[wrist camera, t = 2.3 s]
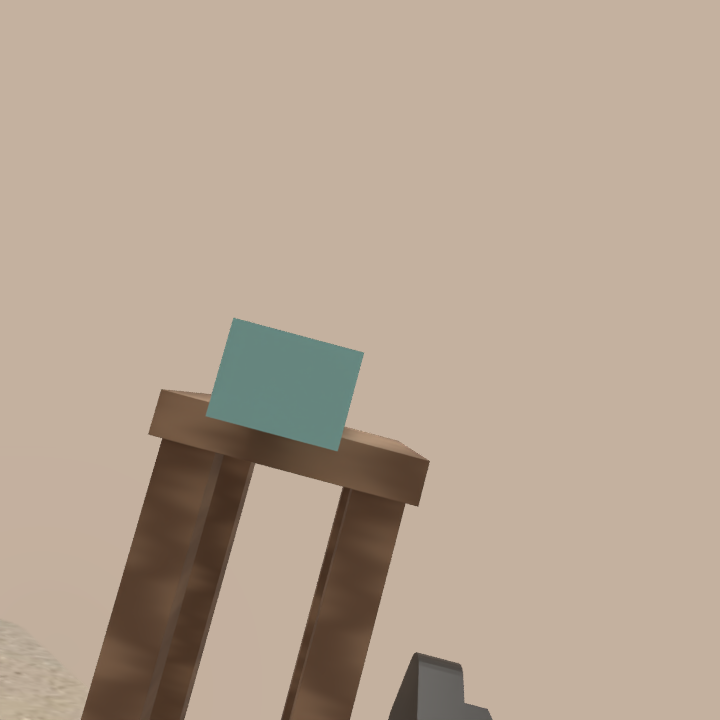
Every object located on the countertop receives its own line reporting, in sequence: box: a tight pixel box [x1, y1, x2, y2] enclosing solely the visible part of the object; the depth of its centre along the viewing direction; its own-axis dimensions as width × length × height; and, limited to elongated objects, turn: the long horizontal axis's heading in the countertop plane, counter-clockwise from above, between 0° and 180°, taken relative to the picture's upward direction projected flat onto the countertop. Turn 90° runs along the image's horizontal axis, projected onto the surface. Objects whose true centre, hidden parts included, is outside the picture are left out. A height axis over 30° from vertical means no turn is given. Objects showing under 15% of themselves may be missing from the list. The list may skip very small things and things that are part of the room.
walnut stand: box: [81, 389, 430, 720], centre depth 35 cm, size 12×17×32 cm
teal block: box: [206, 318, 364, 451], centre depth 31 cm, size 4×24×3 cm, turn 0°
